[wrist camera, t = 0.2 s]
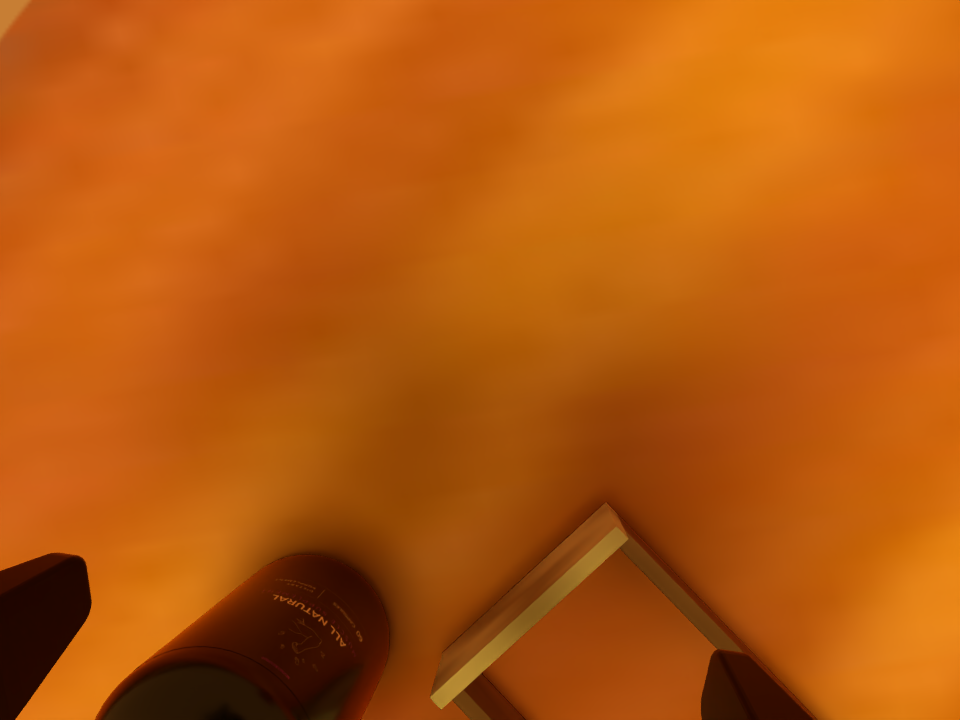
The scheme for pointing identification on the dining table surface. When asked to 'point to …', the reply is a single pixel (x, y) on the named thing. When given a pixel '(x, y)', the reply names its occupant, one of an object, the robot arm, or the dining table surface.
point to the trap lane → (545, 591)
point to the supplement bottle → (268, 652)
